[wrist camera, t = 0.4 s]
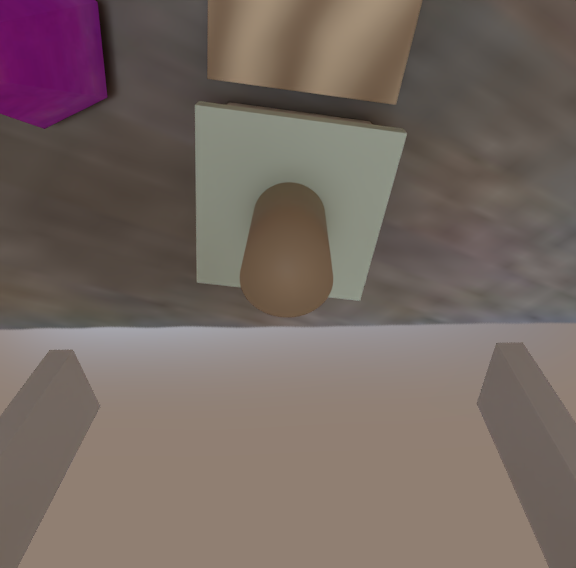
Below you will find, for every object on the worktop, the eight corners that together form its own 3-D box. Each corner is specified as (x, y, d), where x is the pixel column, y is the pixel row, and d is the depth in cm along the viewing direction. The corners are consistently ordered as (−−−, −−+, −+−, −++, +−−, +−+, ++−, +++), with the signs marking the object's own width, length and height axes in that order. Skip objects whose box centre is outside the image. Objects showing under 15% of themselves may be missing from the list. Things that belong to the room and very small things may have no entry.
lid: (199, 274, 32) (169, 355, 25) (199, 101, 25) (155, 141, 17) (358, 292, 33) (375, 376, 25) (402, 128, 26) (446, 178, 18)
